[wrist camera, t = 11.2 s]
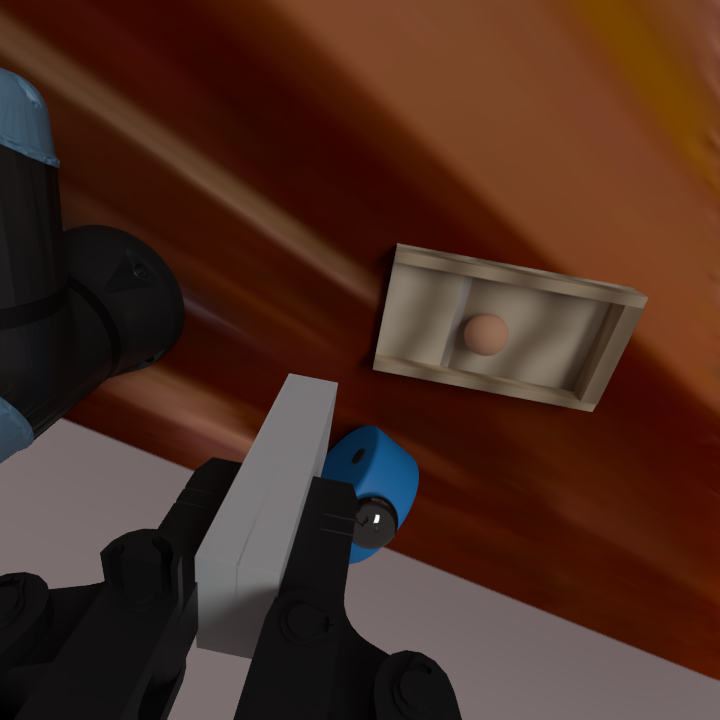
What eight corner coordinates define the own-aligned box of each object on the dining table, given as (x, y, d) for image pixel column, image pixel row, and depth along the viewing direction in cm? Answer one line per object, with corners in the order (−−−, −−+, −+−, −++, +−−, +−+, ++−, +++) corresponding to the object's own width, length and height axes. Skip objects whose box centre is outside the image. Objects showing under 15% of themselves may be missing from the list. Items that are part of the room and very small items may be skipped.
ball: (509, 363, 42) (487, 345, 45) (523, 324, 40) (498, 308, 43) (472, 363, 40) (452, 344, 44) (484, 322, 39) (463, 305, 42)
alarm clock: (343, 492, 56) (322, 604, 43) (306, 463, 54) (272, 570, 41) (420, 435, 51) (422, 542, 38) (381, 401, 49) (370, 501, 36)
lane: (374, 356, 47) (372, 370, 44) (397, 243, 41) (396, 251, 39) (582, 397, 46) (593, 413, 44) (633, 287, 41) (649, 298, 38)
